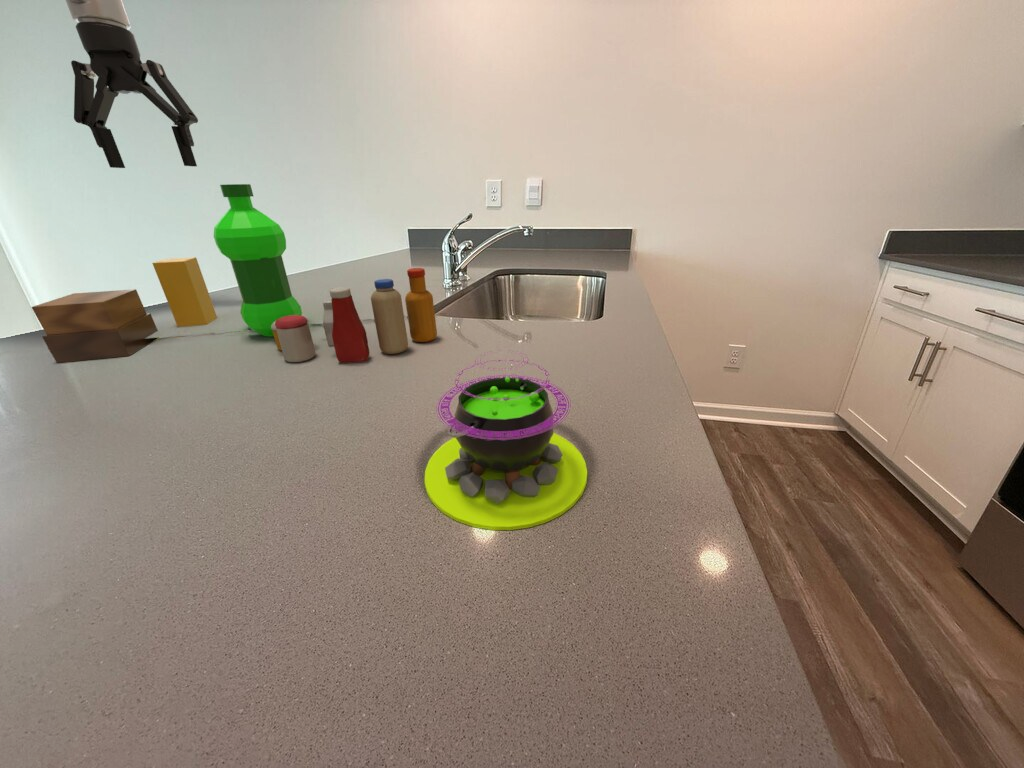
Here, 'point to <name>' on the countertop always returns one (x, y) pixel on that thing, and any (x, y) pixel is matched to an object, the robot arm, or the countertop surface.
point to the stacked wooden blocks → (95, 325)
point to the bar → (185, 291)
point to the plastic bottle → (255, 260)
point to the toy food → (348, 328)
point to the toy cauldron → (504, 455)
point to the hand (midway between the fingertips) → (154, 167)
